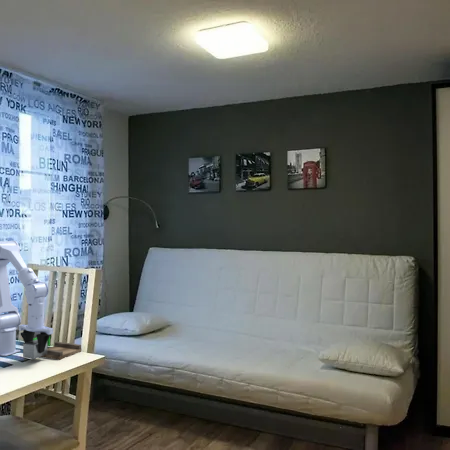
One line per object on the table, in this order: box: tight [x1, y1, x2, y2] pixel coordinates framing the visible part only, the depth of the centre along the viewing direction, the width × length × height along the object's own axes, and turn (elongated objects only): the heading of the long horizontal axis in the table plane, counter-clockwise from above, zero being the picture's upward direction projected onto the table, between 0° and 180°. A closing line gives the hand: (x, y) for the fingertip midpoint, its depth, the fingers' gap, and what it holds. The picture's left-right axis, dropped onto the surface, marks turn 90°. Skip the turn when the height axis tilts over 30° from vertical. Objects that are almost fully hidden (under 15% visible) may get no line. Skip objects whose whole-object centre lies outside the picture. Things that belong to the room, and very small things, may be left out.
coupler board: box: [40, 341, 82, 361], centre depth 191 cm, size 12×13×3 cm
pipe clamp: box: [33, 336, 51, 347], centre depth 201 cm, size 11×4×5 cm, turn 173°
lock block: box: [22, 340, 48, 360], centre depth 180 cm, size 5×7×5 cm
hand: (35, 351), depth 180 cm, fingers closed on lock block, 5 cm apart
